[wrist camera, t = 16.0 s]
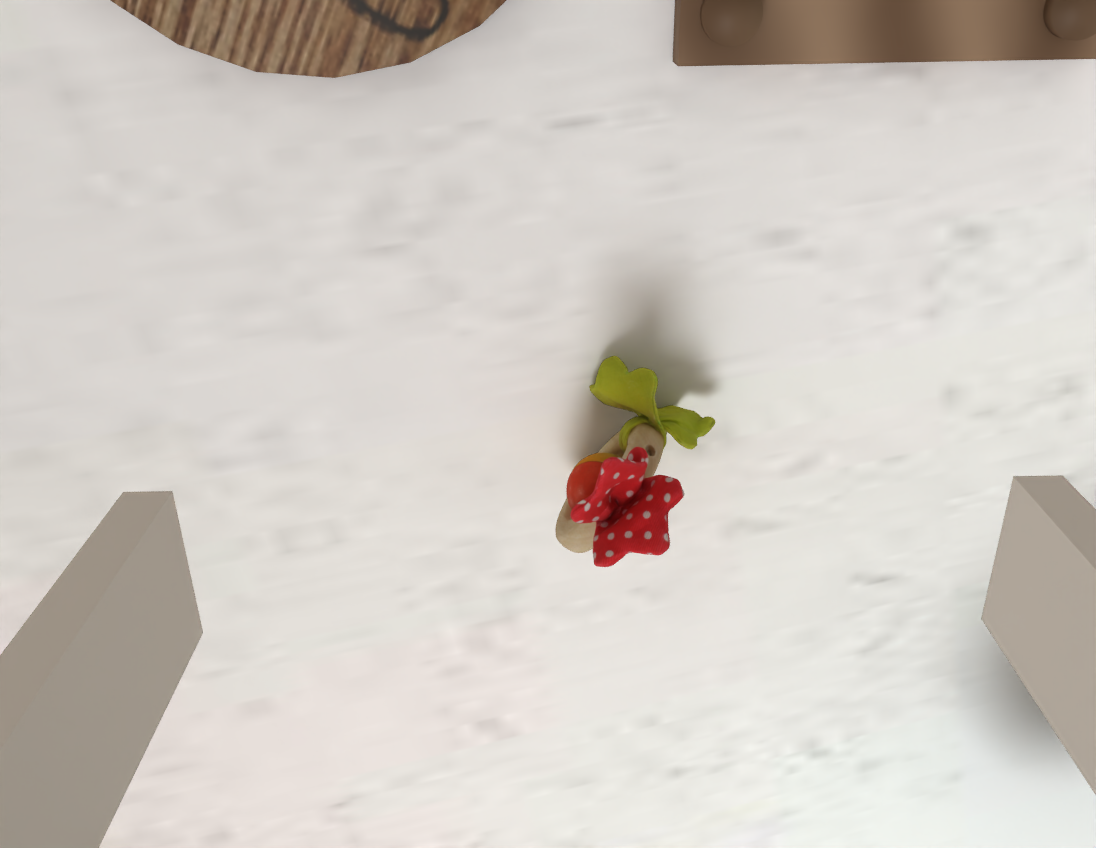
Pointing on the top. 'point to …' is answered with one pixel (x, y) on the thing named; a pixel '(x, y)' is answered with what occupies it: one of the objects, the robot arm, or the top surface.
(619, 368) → the bird rattle
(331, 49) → the trivet
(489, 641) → the top surface
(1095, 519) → the robot arm
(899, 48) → the base plate
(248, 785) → the top surface
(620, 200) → the top surface
